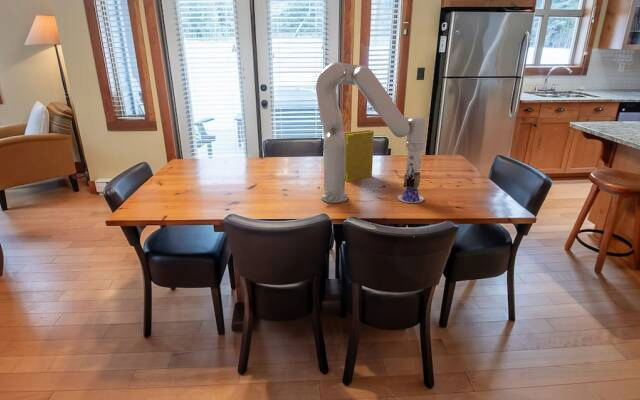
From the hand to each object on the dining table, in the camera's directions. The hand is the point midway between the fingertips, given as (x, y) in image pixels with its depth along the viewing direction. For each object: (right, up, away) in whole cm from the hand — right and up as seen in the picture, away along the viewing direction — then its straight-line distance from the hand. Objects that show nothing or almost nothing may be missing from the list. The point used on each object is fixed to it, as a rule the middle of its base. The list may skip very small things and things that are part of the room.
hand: (411, 184), depth 170 cm
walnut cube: (0, -1, 0) cm, 1 cm away
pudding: (0, -7, +3) cm, 8 cm away
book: (-22, +5, +32) cm, 39 cm away
